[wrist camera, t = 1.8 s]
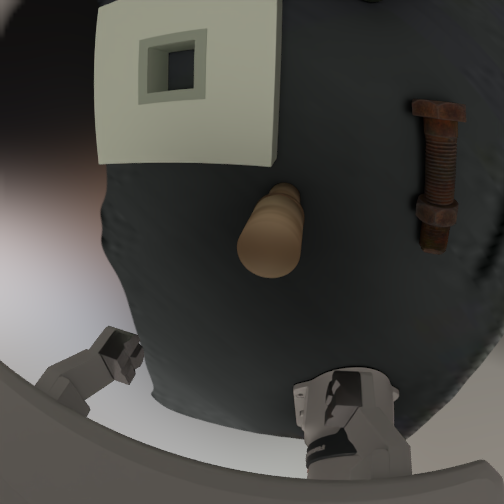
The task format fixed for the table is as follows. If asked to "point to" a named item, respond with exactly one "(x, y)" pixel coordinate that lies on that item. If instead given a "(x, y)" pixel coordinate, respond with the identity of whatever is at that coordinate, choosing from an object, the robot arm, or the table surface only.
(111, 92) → the board
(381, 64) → the table surface
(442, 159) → the bolt
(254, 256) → the peg
